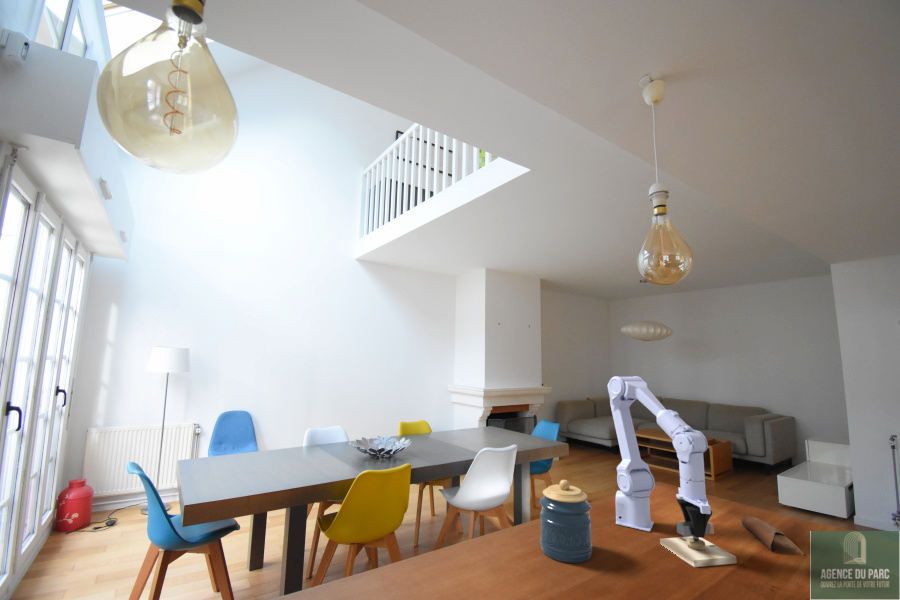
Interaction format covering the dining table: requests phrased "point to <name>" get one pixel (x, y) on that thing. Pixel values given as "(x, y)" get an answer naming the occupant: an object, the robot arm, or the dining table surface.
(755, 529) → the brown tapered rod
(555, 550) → the canister
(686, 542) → the base plate
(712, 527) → the dark rectangular block
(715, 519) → the dining table surface
